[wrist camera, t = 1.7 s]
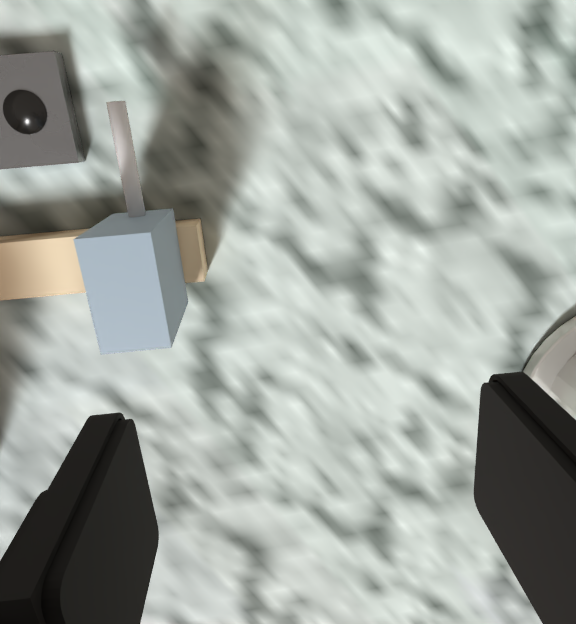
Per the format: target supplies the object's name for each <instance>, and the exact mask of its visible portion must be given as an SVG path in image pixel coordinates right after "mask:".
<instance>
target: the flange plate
mask: <svg viewBox="0 0 576 624" xmlns="http://www.w3.org/2000/svg"><path fill="white" fill-rule="evenodd" d="M83 161H85V158H84V153H83V148H82V144H81V139H80V135H79V130H78V125H77V121H76V116H75V112H74V107H73V103H72V98H71V93H70V89H69V84H68V80H67V75H66V70H65V66H64V61H63V57H62V54H61V53H58V52H55V51H49V52H37V53H24V54H11V55H0V169H9V168H20V167H32V166H44V165H55V164H67V163H79V162H83Z"/></svg>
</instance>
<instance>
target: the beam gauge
mask: <svg viewBox="0 0 576 624" xmlns="http://www.w3.org/2000/svg"><path fill="white" fill-rule="evenodd" d="M175 223H176V229H177V236H178V242H179V248H180V254H181V260H182V267H183V273H184V279H185V283H191V282H202V281H205V278H206V275H207V272H208V268H207V261H206V254H205V247H204V240H203V233H202V226H201V219H189V220H178V221H175ZM89 229H90V228H89ZM89 229H78V230H67V231H56V232H45V233H33V234H22V235H11V236H0V300H10V299H21V298H32V297H42V296H53V295H64V294H74V293H85V292H86V290H85V286H84V282H83V278H82V273H81V269H80V265H79V261H78V257H77V253H76V248H75V244H74V240H73V239H75V238H76V237H78V236H79V235H81V234H82V233H84V232H86V231H87V230H89Z"/></svg>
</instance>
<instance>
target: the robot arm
mask: <svg viewBox="0 0 576 624" xmlns="http://www.w3.org/2000/svg"><path fill="white" fill-rule="evenodd" d="M474 499H475V503H476V507H477V509H478V511H479V513H480V515H481V517H482V518H483V520H484V522H485V524H486V525H487V527H488V529H489V531H490V532H491V534H492V536H493V538H494V539H495V541H496V543H497V545H498V546H499V548H500V550H501V552H502V553H503V555H504V557H505V559H506V560H507V562H508V564H509V566H510V567H511V569H512V571H513V573H514V574H515V576H516V578H517V579H518V581H519V583H520V585H521V586H522V588H523V590H524V592H525V593H526V595H527V597H528V599H529V600H530V602H531V604H532V606H533V607H534V609H535V611H536V613H537V614H538V616H539V618H540V620H541V621H542V623H543V624H576V316H575V317H574V318H572V319H571V320H569V321H568V322H566V323H565V324H563V325H561V326H560V327H559V328H558V329H557V330H556V331H554V332H553V333H552V334H551V335H550V336H549V337H548V338H547V339H545V341H544V342H543V343H542V344H541V345H540V347H539V348H538V349H537V350H536V352H535V353H534V354H533V355H532V357H531V359H530V360H529V362H528V364H527V366H526V367H525V369H524V371H523V372H514V373H504V374H494V375H492V376H491V377H490V380H489V382H488V383H484V384H482V387H481V394H480V408H479V423H478V437H477V452H476V466H475V481H474ZM158 538H159V533H158V525H157V520H156V516H155V511H154V507H153V502H152V498H151V494H150V489H149V485H148V480H147V476H146V471H145V467H144V462H143V458H142V454H141V449H140V445H139V440H138V436H137V431H136V427H135V423H134V421H133V420H132V419H126V420H125V418H124V416H123V414H122V413H111V414H102V415H92V416H90V417H89V418H88V419H87V421H86V423H85V424H84V426H83V428H82V430H81V431H80V433H79V435H78V437H77V439H76V440H75V442H74V444H73V446H72V447H71V449H70V451H69V453H68V455H67V456H66V458H65V460H64V462H63V463H62V465H61V467H60V469H59V470H58V472H57V474H56V476H55V478H54V479H53V481H52V483H51V485H50V486H49V488H48V490H46V491H44V492H42V493H41V494H40V495H39V496H38V498H37V499H36V500H35V502H34V504H33V506H32V507H31V509H30V511H29V512H28V514H27V516H26V518H25V519H24V521H23V523H22V525H21V526H20V528H19V530H18V531H17V533H16V535H15V537H14V538H13V540H12V542H11V544H10V545H9V547H8V549H7V550H6V552H5V554H4V556H3V557H2V559H1V561H0V624H140V622H141V617H142V613H143V608H144V604H145V600H146V595H147V591H148V587H149V582H150V578H151V574H152V569H153V565H154V560H155V556H156V552H157V547H158Z"/></svg>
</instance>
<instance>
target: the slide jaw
mask: <svg viewBox="0 0 576 624" xmlns="http://www.w3.org/2000/svg"><path fill="white" fill-rule="evenodd" d="M106 103H107V108H108V113H109V119H110V124H111V129H112V134H113V139H114V144H115V149H116V154H117V160H118V165H119V170H120V175H121V180H122V185H123V190H124V196H125V201H126V206H127V211H128V212H126V213H115V214H112V215H110V216H109V217H107V218H105V219H104V220H102V221H101V222H99V223H98V224H96V225H95V226H93V227H92V228H90V229H89V230H87V231H86V232H84V233H82V234H81V235H79V236H78V237H76V238H75V239H73V240H74V244H75V248H76V253H77V257H78V261H79V265H80V269H81V273H82V278H83V282H84V286H85V290H86V294H87V299H88V303H89V307H90V311H91V315H92V319H93V324H94V328H95V332H96V336H97V340H98V345H99V349H100V353H101V354H111V353H121V352H132V351H142V350H152V349H162V348H171V347H172V344H173V342H174V339H175V336H176V334H177V331H178V328H179V325H180V323H181V320H182V317H183V315H184V312H185V309H186V306H187V304H188V298H187V291H186V285H185V279H184V273H183V267H182V260H181V254H180V248H179V242H178V236H177V229H176V223H175V217H174V211H173V208H171V209H160V210H149V211H145V207H144V201H143V196H142V190H141V185H140V179H139V174H138V168H137V163H136V157H135V152H134V146H133V141H132V135H131V130H130V124H129V119H128V113H127V108H126V102H125V101H113V102H106Z"/></svg>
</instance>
